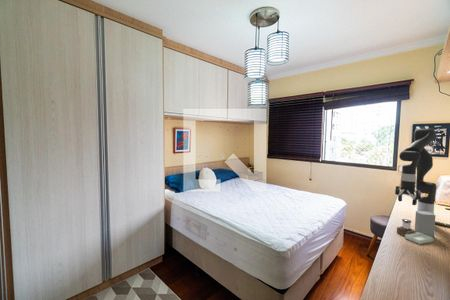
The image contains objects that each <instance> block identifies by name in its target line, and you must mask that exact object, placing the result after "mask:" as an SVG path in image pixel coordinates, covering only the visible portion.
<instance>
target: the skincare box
mask: <svg viewBox="0 0 450 300" xmlns="http://www.w3.org/2000/svg"><path fill="white" fill-rule="evenodd" d="M436 216H437V215H436V214H435V213H434V214H432V213H431V212H424V211H417V210H416V211H415V219H414V221H415V222H414V230H416V232H415V233H418V232H419V233H422V234H424V235H427V236H430V237H432V238H435V225H436Z"/></svg>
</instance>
